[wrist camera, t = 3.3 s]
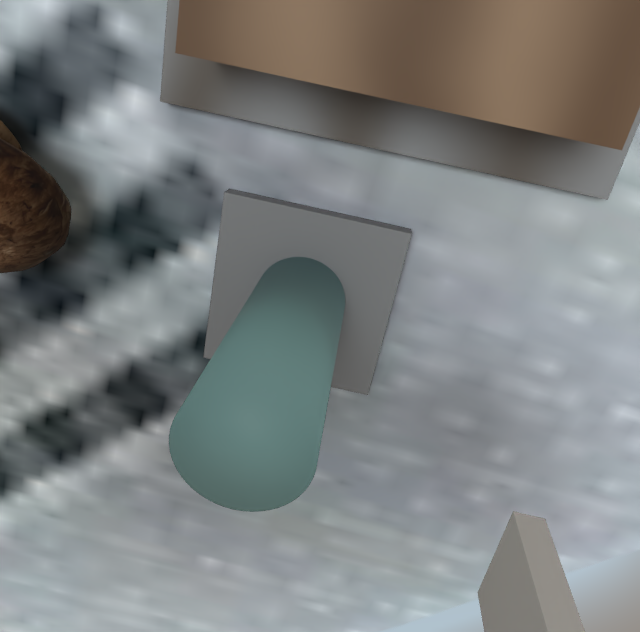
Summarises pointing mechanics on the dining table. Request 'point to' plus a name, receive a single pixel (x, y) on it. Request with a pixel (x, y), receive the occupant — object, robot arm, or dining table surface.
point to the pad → (319, 244)
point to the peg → (264, 393)
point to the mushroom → (28, 209)
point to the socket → (424, 78)
